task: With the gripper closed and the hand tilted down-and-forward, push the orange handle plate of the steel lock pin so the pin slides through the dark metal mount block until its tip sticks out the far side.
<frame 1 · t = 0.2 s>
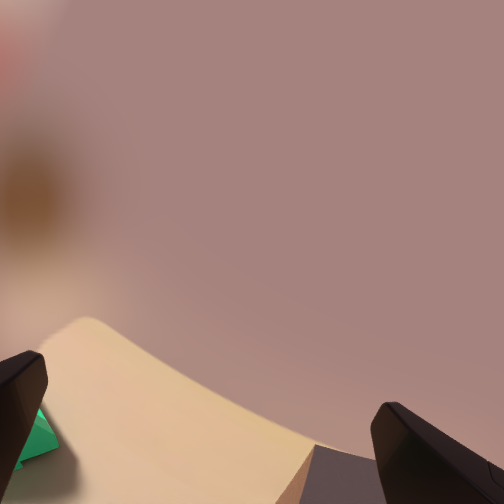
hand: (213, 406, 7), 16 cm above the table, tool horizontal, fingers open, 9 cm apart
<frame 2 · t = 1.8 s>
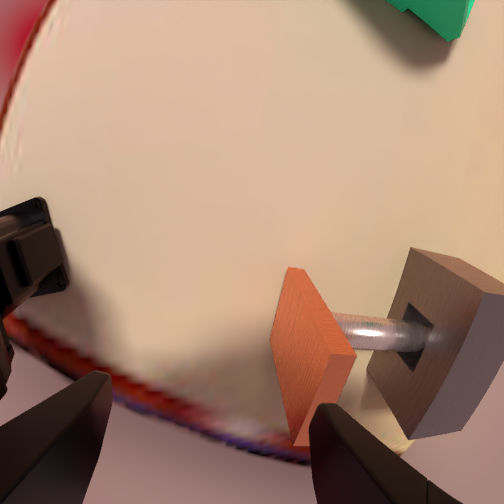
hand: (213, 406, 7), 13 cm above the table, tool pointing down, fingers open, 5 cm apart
lock pin: (400, 352, 16), point 5 cm above the table, slide at 0.0 cm
mount block: (415, 315, 22), on the table
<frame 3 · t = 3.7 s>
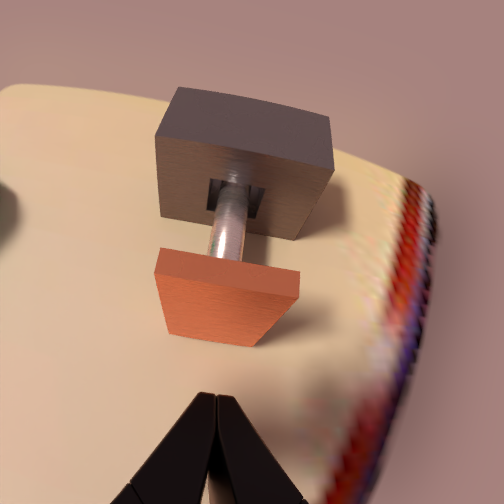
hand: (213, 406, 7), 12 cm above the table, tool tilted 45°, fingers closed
lock pin: (233, 207, 18), point 5 cm above the table, slide at 0.0 cm
mount block: (232, 201, 25), on the table
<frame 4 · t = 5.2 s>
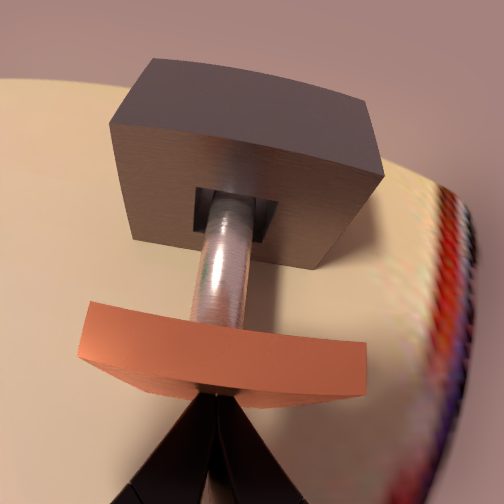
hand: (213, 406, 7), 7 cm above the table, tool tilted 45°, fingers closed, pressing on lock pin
lock pin: (234, 214, 12), point 5 cm above the table, slide at 0.8 cm, touching gripper
mount block: (229, 216, 18), on the table
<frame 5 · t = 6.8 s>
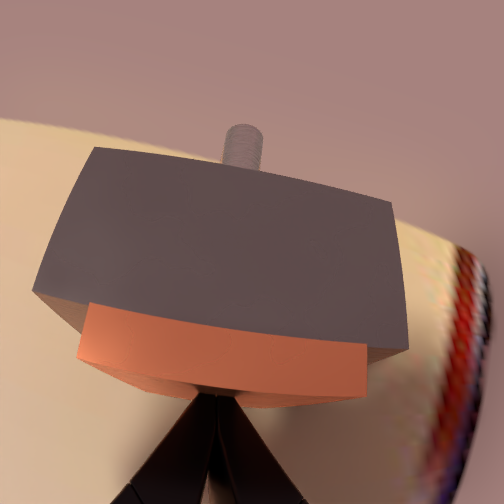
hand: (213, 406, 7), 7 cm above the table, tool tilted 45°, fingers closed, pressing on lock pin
lock pin: (234, 213, 12), point 5 cm above the table, slide at 7.1 cm, touching gripper
mount block: (213, 321, 15), on the table
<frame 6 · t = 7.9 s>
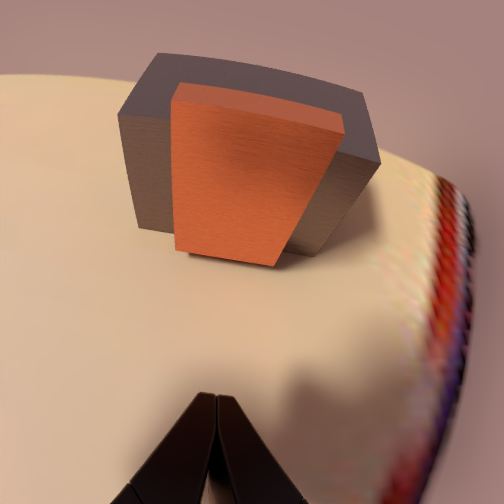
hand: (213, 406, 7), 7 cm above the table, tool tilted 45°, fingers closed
lock pin: (252, 106, 15), point 6 cm above the table, slide at 7.0 cm
mount block: (232, 205, 19), on the table
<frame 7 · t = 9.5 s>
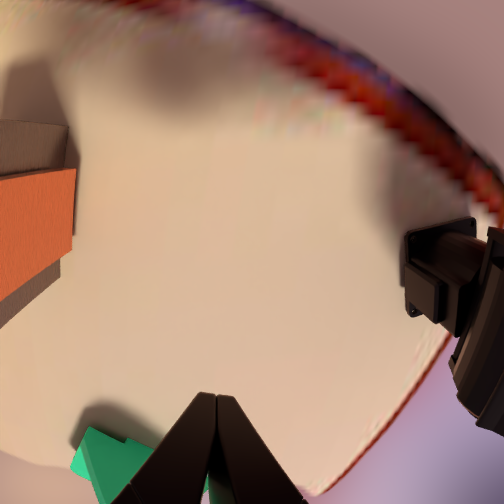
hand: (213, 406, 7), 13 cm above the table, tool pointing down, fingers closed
mount block: (31, 200, 18), on the table
camera mount: (138, 461, 26), on the table
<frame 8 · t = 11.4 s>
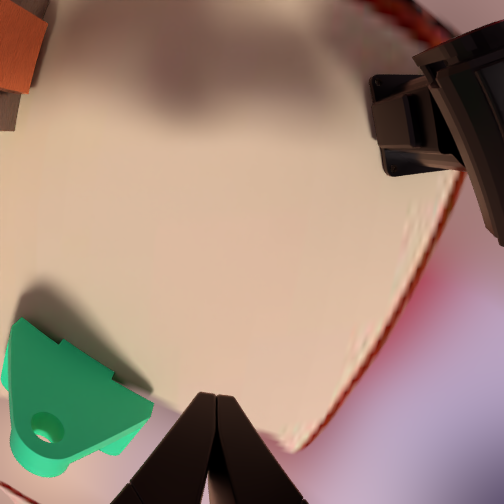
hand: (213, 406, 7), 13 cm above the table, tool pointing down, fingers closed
mount block: (4, 64, 14), on the table
camera mount: (76, 381, 22), on the table
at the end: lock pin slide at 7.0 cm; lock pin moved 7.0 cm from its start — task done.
